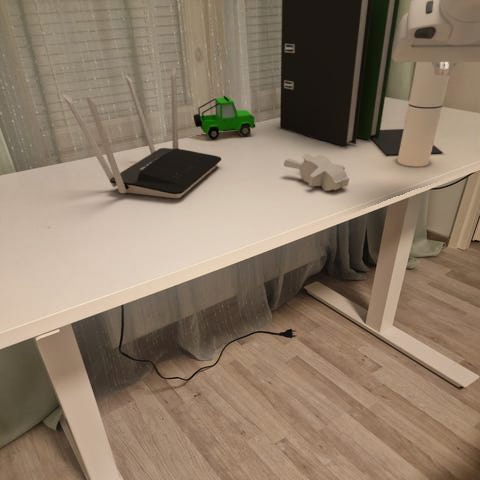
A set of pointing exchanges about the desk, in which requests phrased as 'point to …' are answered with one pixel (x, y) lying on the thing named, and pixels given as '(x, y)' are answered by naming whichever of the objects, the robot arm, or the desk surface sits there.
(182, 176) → the wireless router
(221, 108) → the toy car
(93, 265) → the desk surface
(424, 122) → the cylindrical container
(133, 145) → the desk surface
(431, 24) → the robot arm
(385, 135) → the mat
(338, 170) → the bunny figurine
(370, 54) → the ring binders
